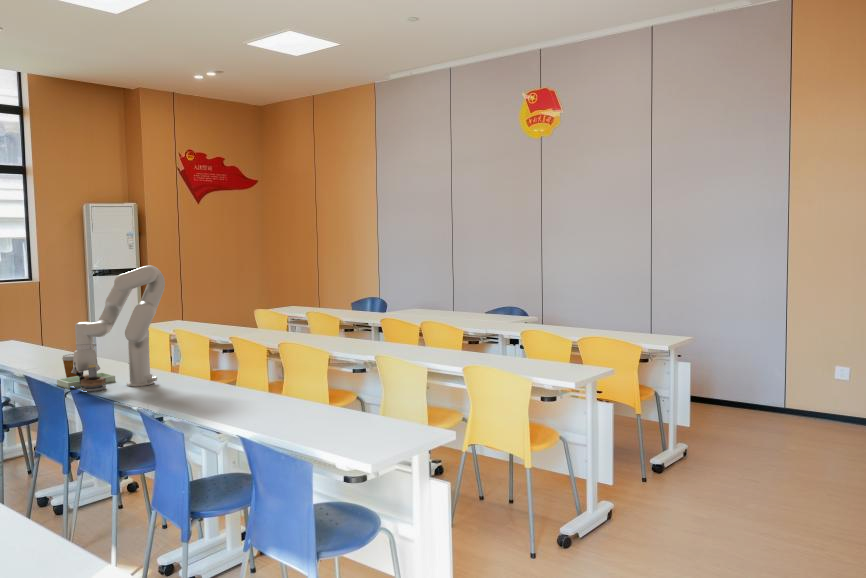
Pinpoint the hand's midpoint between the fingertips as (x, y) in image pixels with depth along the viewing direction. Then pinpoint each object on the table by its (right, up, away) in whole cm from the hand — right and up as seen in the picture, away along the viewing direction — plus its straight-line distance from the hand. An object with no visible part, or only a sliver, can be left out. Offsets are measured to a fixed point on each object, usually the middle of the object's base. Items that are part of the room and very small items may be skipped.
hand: (86, 384), depth 339 cm
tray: (-5, -1, +10) cm, 12 cm away
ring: (+3, +1, -3) cm, 5 cm away
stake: (+6, -2, -5) cm, 8 cm away
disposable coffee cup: (-20, 0, +26) cm, 33 cm away
